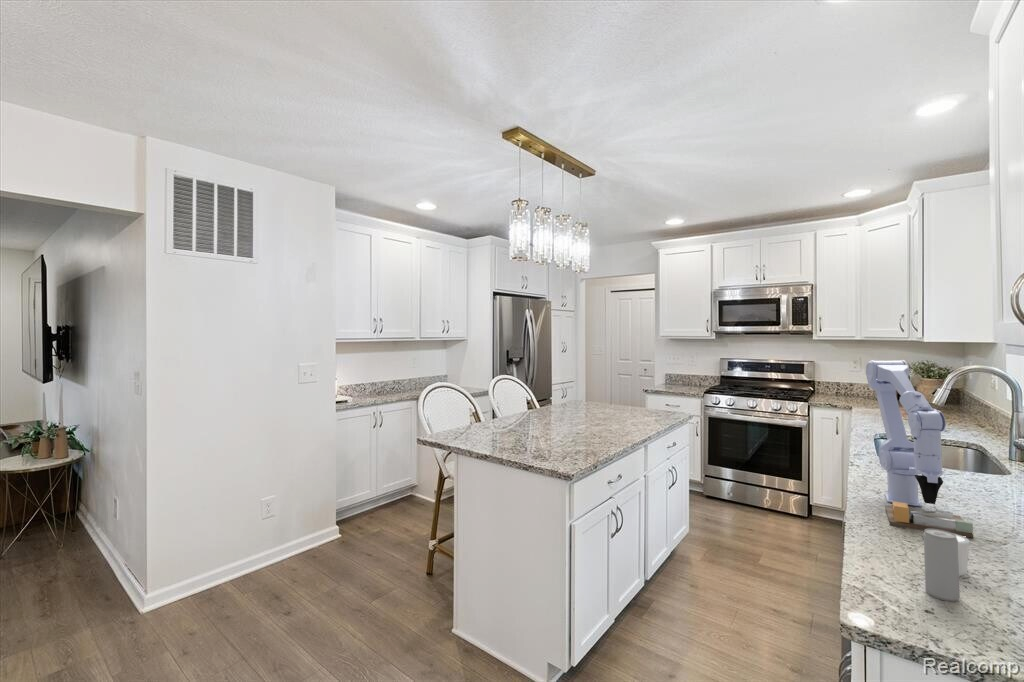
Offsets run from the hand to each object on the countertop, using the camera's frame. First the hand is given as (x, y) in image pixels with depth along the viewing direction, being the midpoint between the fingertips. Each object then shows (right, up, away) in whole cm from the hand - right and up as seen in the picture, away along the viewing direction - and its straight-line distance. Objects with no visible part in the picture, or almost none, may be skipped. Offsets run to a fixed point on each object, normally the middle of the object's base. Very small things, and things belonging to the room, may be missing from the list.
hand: (929, 503), depth 127 cm
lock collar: (-11, -3, -4) cm, 12 cm away
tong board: (-4, -4, -3) cm, 7 cm away
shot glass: (-22, -4, -29) cm, 37 cm away
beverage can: (-33, -4, -39) cm, 52 cm away
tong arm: (-4, -3, -5) cm, 7 cm away
